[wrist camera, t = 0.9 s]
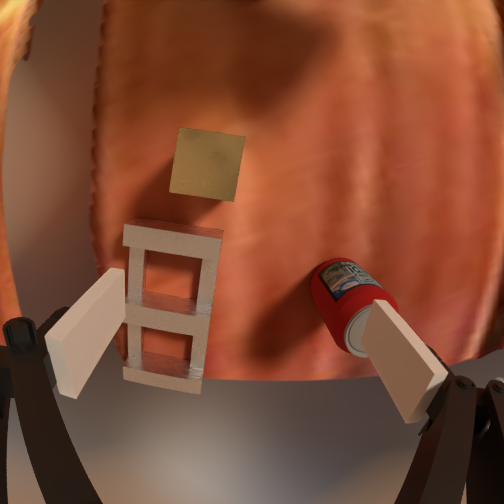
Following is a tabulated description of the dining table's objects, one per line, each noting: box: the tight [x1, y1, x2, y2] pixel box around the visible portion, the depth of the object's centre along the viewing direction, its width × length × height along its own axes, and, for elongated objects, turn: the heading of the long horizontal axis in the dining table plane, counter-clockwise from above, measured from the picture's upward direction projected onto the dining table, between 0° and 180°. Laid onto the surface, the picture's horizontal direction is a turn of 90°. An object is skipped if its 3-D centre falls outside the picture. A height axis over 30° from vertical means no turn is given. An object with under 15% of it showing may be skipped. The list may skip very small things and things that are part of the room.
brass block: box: [169, 127, 245, 202], centre depth 27 cm, size 5×5×10 cm
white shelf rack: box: [123, 217, 224, 394], centre depth 34 cm, size 20×10×4 cm, turn 170°
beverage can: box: [310, 258, 399, 358], centre depth 31 cm, size 7×7×12 cm
